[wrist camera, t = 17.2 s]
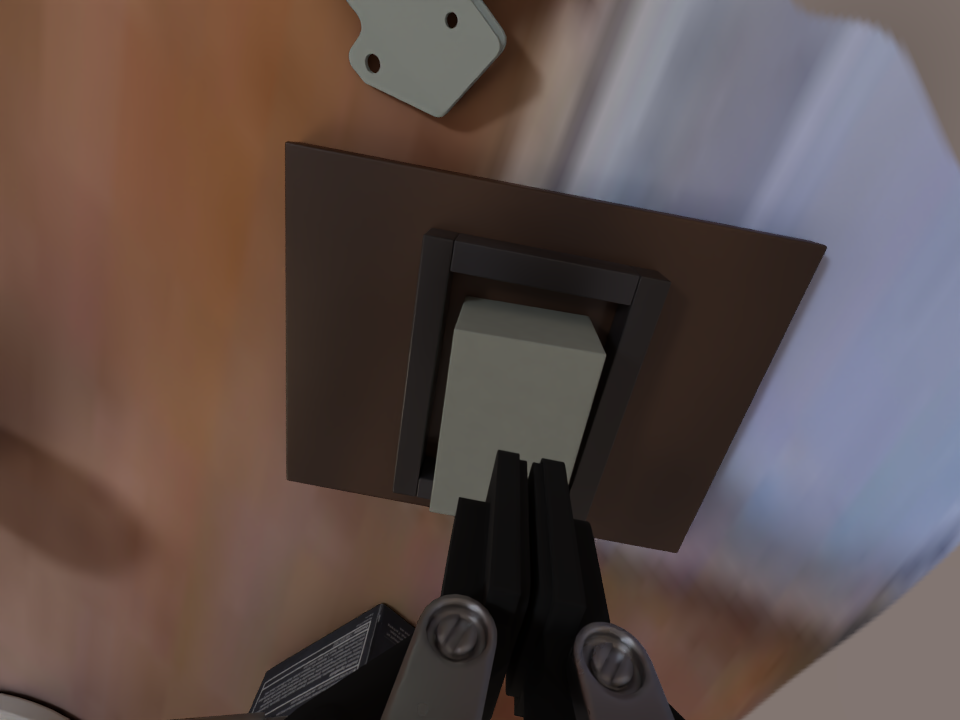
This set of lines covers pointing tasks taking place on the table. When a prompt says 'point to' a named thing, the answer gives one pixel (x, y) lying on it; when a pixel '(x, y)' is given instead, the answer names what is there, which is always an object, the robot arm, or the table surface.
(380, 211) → the mounting board
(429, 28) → the metal bracket
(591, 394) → the gray rectangular block
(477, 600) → the robot arm
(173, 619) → the table surface
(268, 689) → the small box
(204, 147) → the table surface
